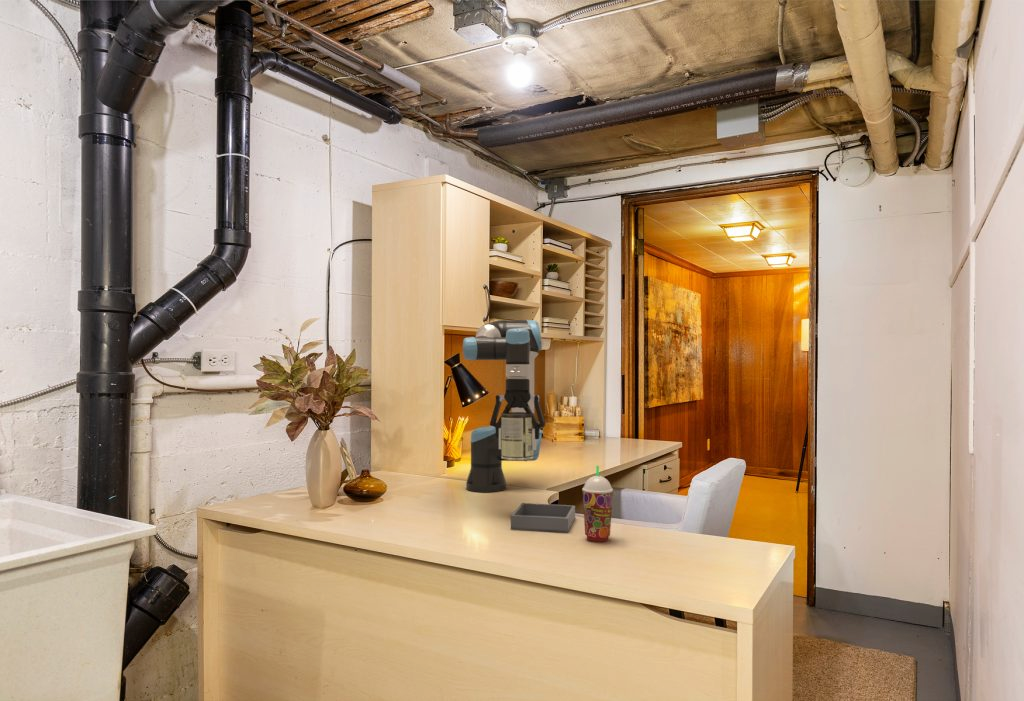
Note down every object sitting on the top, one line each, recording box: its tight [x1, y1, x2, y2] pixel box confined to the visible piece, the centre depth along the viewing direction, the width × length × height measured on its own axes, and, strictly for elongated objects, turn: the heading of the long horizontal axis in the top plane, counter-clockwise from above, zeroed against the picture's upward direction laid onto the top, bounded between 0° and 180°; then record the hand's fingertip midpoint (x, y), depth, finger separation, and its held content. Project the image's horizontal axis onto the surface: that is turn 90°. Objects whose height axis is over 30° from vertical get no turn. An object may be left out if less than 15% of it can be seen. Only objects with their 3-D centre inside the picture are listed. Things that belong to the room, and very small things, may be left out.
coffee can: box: [500, 411, 535, 460], centre depth 206 cm, size 10×10×14 cm
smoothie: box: [581, 465, 614, 543], centre depth 179 cm, size 8×8×20 cm
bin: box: [510, 502, 576, 534], centre depth 195 cm, size 17×17×4 cm
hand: (517, 449), depth 206 cm, fingers closed on coffee can, 10 cm apart
